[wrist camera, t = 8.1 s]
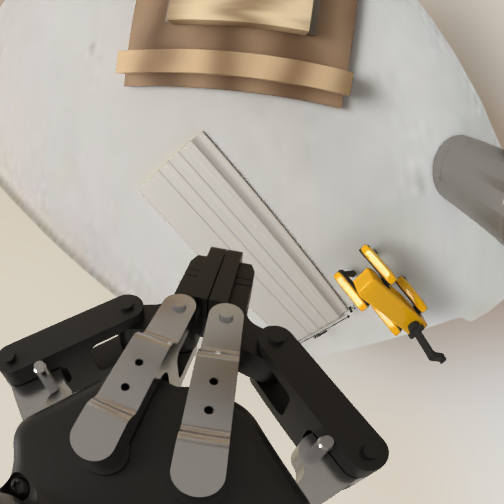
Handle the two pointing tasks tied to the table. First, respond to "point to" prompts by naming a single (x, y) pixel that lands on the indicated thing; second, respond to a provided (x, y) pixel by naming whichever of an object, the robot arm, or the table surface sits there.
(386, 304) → the robot dog
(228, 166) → the baseboard molding
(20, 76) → the table surface
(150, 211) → the table surface
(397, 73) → the table surface
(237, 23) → the oak plank
